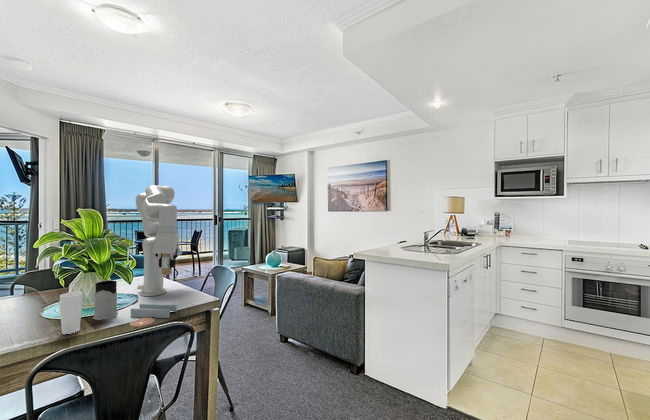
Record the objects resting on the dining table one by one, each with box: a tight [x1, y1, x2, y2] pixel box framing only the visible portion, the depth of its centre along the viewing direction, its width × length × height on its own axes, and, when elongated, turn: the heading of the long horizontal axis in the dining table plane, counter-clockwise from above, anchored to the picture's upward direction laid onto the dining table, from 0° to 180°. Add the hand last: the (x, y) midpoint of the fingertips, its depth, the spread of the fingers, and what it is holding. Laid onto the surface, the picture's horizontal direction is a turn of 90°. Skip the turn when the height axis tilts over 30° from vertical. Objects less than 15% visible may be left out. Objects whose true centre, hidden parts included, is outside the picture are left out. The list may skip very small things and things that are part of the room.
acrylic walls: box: [130, 303, 178, 319], centre depth 132 cm, size 17×7×4 cm, turn 89°
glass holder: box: [92, 280, 119, 321], centre depth 131 cm, size 9×14×15 cm, turn 20°
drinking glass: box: [59, 291, 84, 336], centre depth 112 cm, size 7×7×15 cm
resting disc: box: [129, 317, 156, 328], centre depth 123 cm, size 9×9×1 cm
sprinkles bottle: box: [161, 254, 173, 276], centre depth 141 cm, size 5×5×14 cm
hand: (166, 266), depth 141 cm, fingers closed on sprinkles bottle, 4 cm apart
